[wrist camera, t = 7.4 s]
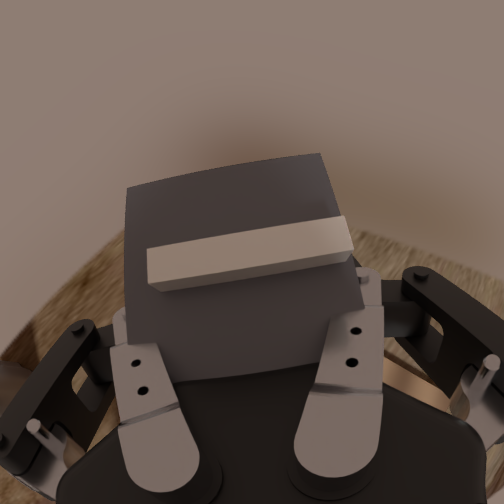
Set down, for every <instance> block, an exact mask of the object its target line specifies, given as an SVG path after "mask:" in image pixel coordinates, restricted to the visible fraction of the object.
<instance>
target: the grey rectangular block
mask: <svg viewBox="0 0 504 504" xmlns="http://www.w3.org/2000/svg"><path fill="white" fill-rule="evenodd" d="M353 250H354V247H353V244H352V240H351V237H350V233H349V230H348V226H347V223H346V220H345V216H341V215H340V211H339V208H338V205H337V202H336V199H335V195H334V193H333V189H332V186H331V183H330V180H329V177H328V174H327V171H326V169H325V166H324V163H323V160H322V157H321V154H320V153H316V154H307V155H298V156H290V157H283V158H276V159H269V160H262V161H255V162H249V163H243V164H237V165H232V166H226V167H220V168H215V169H209V170H204V171H200V172H194V173H190V174H185V175H181V176H176V177H171V178H167V179H163V180H158V181H154V182H150V183H145V184H141V185H137V186H133V187H130V188H127V197H126V212H125V235H124V291H125V314H126V330H127V343H128V345H134V344H147V343H157V345H158V348H159V350H160V352H161V355H162V357H163V360H164V362H165V364H166V367H167V369H168V371H169V374H170V376H171V379H172V381H173V383H176V382H181V381H189V380H200V379H211V378H220V377H229V376H237V375H245V374H252V373H259V372H265V371H272V370H278V369H283V368H289V367H294V366H300V365H305V364H310V363H317V362H320V360H321V357H322V353H323V349H324V344H325V340H326V336H327V332H328V327H329V323H330V319H331V316H335V315H339V314H344V313H348V312H353V311H357V310H361V309H365V306H364V301H363V297H362V293H361V288H360V284H359V280H358V276H357V272H356V268H355V264H354V260H353V257H352V252H353Z"/></svg>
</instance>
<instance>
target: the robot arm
mask: <svg viewBox="0 0 504 504" xmlns="http://www.w3.org/2000/svg"><path fill="white" fill-rule="evenodd" d="M352 257H353V260H354V264H355V268H356V272H357V276H358V280H359V284H360V288H361V293H362V297H363V301H364V306H365V309H361V310H357V311H353V312H348V313H344V314H339V315H335V316H331V319H330V323H329V327H328V332H327V336H326V340H325V344H324V349H323V353H322V357H321V360H320V362H317V363H310V364H305V365H300V366H294V367H289V368H283V369H278V370H272V371H265V372H259V373H252V374H245V375H237V376H229V377H220V378H211V379H200V380H189V381H181V382H176V383H173V381H172V379H171V376H170V374H169V371H168V369H167V367H166V364H165V362H164V360H163V357H162V355H161V352H160V350H159V348H158V345H157V343H147V344H134V345H128V343H127V330H126V314H125V307H123V308H121V309H120V310H119V311H117V312H116V313H115V315H114V316H113V324H111V325H108V326H105V327H101V328H98V329H97V328H96V326H95V324H94V322H93V321H92V320H90V319H83V320H80V321H77V322H75V323H73V324H72V325H70V326H69V327H68V328H67V329H66V330H65V332H64V333H63V334H62V335H61V336H60V338H59V339H58V340H57V341H56V343H55V344H54V345H53V346H52V348H51V349H50V350H49V351H48V353H47V354H46V355H45V356H44V358H43V359H42V360H41V361H40V363H39V364H38V365H37V367H36V368H35V369H34V371H33V372H32V371H30V370H29V369H27V368H23V367H21V366H20V364H19V363H18V362H9V361H1V360H0V465H1V466H2V467H3V468H4V469H6V470H7V472H8V473H9V474H10V475H12V476H13V477H14V478H16V479H17V480H19V481H20V482H21V483H23V484H24V485H26V486H27V487H28V488H30V489H31V490H33V491H36V492H37V493H39V494H41V495H42V496H44V497H45V498H47V499H48V500H51V501H56V504H487V499H486V488H485V474H486V460H487V457H486V452H487V451H488V450H489V449H490V448H491V447H492V446H493V445H494V444H500V443H503V442H504V320H502V319H501V318H500V317H498V316H497V315H496V314H494V313H493V312H492V311H491V310H489V309H488V308H487V307H485V306H484V305H482V304H481V303H480V302H478V301H477V300H476V299H474V298H473V297H471V296H470V295H469V294H467V293H466V292H464V291H463V290H462V289H460V288H459V287H457V286H456V285H454V284H453V283H451V282H450V281H449V280H447V279H446V278H444V277H443V276H441V275H440V274H438V273H437V272H435V271H434V270H432V269H430V268H427V267H422V266H414V267H409V268H407V269H405V270H404V271H403V274H402V280H381V276H380V274H379V273H378V272H377V271H375V270H373V269H371V268H366V267H362V266H361V265H360V264H359V263H358V261H357V260H356V259H355V258H354V256H352ZM431 316H432V317H433V318H434V319H435V320H436V321H437V322H439V323H440V325H441V326H442V328H443V333H444V336H443V335H441V334H440V333H439V332H438V331H437V330H436V329H435V328H434V327H433V326H431V325H430V320H431ZM384 337H394V338H395V340H396V341H397V342H398V343H399V344H400V346H401V347H402V348H403V349H404V350H405V351H406V352H407V353H408V354H409V355H410V356H411V357H412V358H413V359H414V361H415V362H416V363H417V364H418V365H419V366H420V367H421V368H422V369H423V370H424V371H425V373H426V374H427V375H428V376H429V377H430V378H431V379H432V380H433V381H434V382H435V384H436V385H437V386H438V387H439V388H440V389H441V390H442V391H443V393H444V394H445V395H446V396H447V397H448V398H449V399H450V402H449V407H450V411H451V413H452V415H451V414H448V413H446V412H444V411H442V410H440V409H437V408H435V407H433V406H431V405H429V404H427V403H425V402H422V401H420V400H418V399H416V398H414V397H412V396H410V395H408V394H406V393H404V392H402V391H400V390H398V389H396V388H394V387H392V386H390V385H388V384H386V383H384V382H382V381H383V360H384ZM80 366H82V367H83V369H84V370H85V372H86V373H87V375H88V377H87V379H86V380H85V382H84V383H83V385H82V386H81V388H80V390H79V391H78V393H77V395H76V394H75V392H74V391H73V389H72V379H73V377H74V375H75V374H76V372H77V371H78V369H79V368H80ZM115 395H116V399H117V404H118V410H119V415H120V424H119V425H118V426H117V427H115V428H114V429H113V430H112V431H111V432H110V433H109V434H108V435H106V436H105V437H104V438H103V439H102V440H101V441H100V442H99V443H97V444H96V445H95V446H94V447H93V448H92V449H91V450H89V451H88V452H87V450H88V448H89V446H90V444H91V442H92V440H93V438H94V436H95V434H96V432H97V430H98V428H99V426H100V424H101V422H102V420H103V418H104V416H105V414H106V412H107V410H108V408H109V406H110V404H111V402H112V400H113V398H114V397H115ZM86 452H87V453H86Z"/></svg>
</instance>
